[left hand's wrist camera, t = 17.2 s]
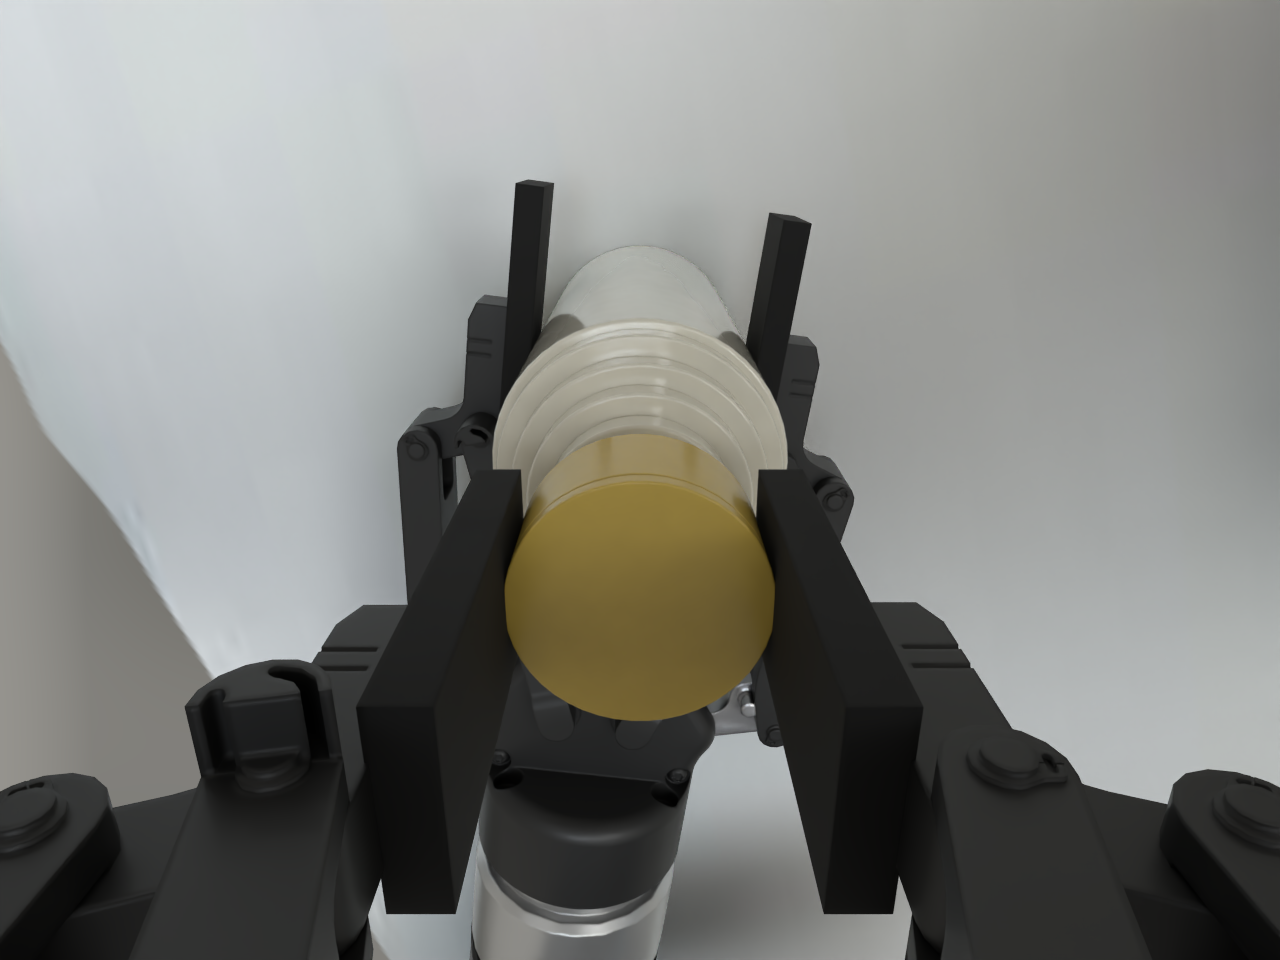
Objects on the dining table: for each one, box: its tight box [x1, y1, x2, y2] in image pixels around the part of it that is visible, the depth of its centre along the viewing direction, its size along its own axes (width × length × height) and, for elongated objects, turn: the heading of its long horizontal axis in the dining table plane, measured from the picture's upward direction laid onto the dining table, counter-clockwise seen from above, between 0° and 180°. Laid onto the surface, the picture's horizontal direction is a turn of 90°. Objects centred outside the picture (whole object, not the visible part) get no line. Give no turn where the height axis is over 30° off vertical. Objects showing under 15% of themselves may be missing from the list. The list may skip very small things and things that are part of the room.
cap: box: [504, 434, 775, 721], centre depth 14 cm, size 4×4×2 cm
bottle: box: [492, 246, 788, 517], centre depth 22 cm, size 6×6×19 cm
